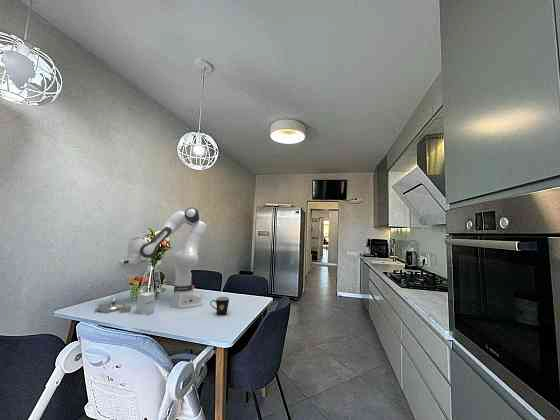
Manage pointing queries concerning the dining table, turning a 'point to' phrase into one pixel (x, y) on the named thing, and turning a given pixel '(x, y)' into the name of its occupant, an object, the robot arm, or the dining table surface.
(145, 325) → the dining table surface
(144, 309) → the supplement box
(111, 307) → the sprocket
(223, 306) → the coffee mug
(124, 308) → the link block
